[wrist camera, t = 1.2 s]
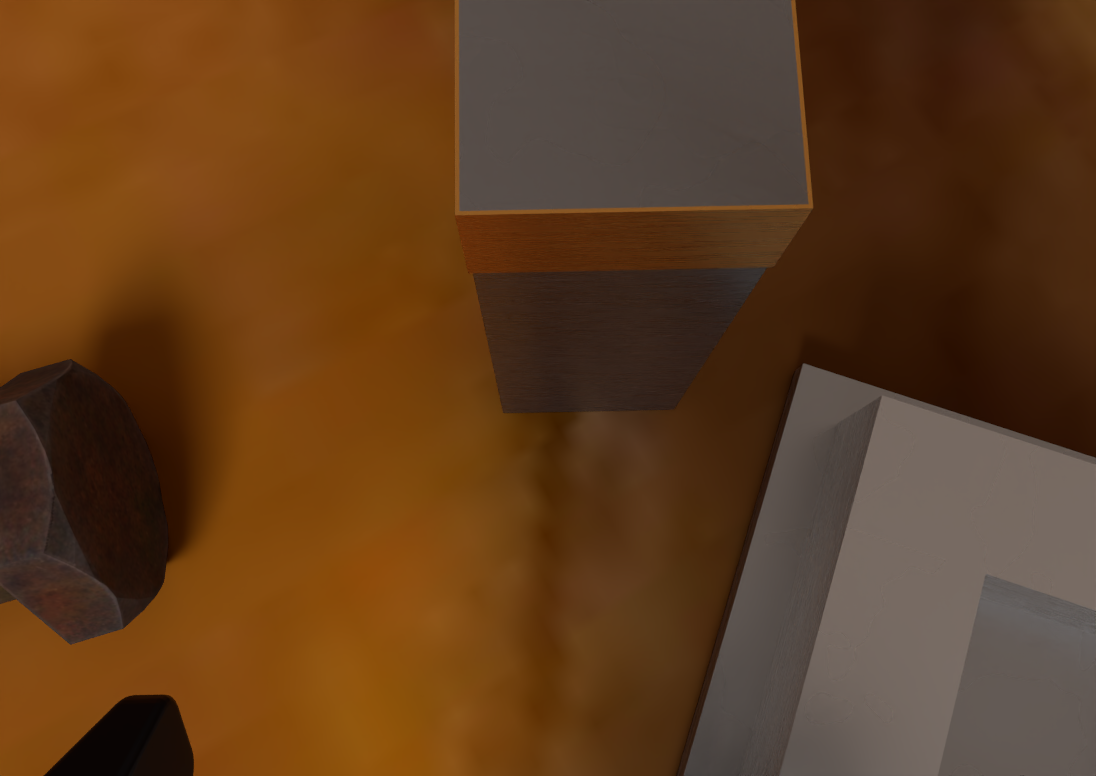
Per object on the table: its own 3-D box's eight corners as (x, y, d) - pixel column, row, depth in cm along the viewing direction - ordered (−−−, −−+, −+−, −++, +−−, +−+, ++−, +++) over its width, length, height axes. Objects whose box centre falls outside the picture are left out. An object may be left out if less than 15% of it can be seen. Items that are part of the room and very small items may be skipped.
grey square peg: (676, 411, 23) (813, 207, 11) (501, 414, 23) (455, 214, 11) (667, 246, 24) (786, -103, 12) (499, 249, 24) (454, -97, 12)
